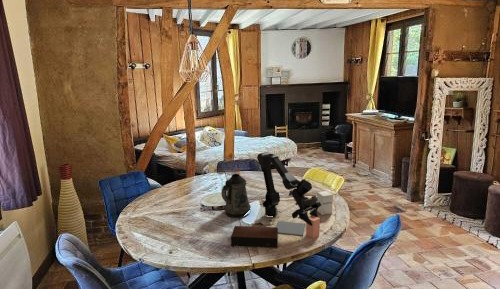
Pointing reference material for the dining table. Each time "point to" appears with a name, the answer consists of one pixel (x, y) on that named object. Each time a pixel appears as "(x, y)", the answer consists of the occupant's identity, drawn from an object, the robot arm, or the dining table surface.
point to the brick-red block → (313, 227)
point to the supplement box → (325, 202)
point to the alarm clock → (255, 236)
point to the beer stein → (235, 197)
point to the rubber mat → (290, 228)
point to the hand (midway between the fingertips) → (315, 224)
